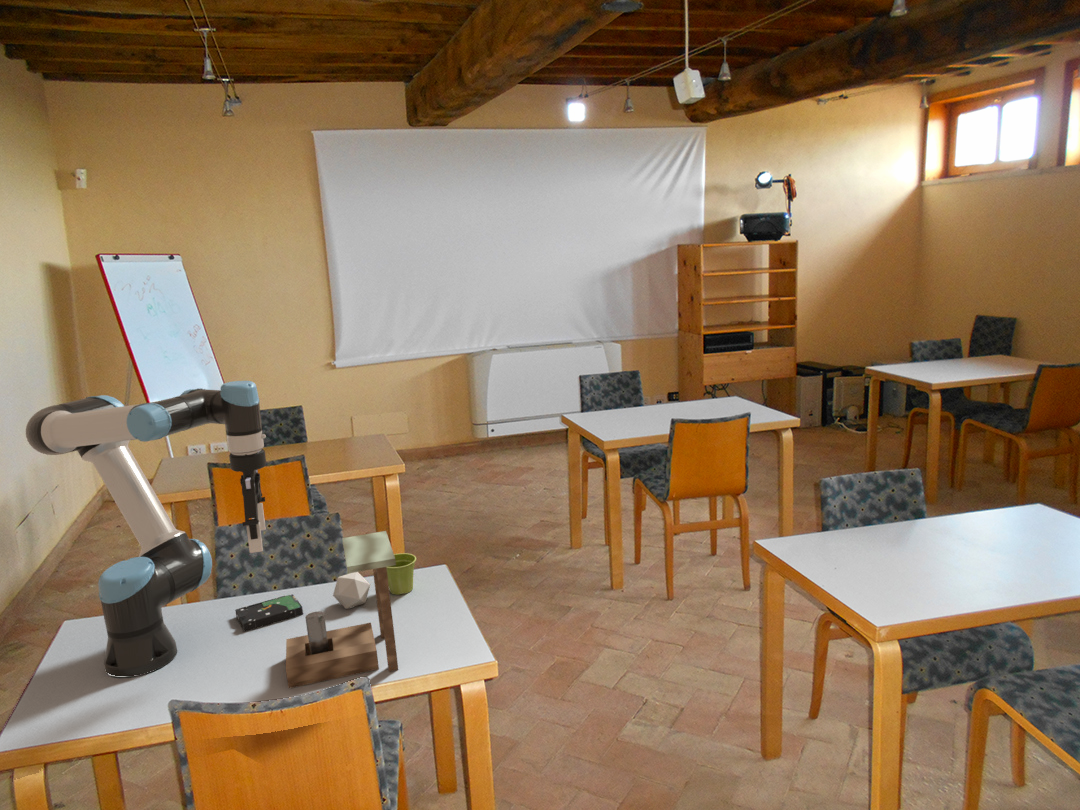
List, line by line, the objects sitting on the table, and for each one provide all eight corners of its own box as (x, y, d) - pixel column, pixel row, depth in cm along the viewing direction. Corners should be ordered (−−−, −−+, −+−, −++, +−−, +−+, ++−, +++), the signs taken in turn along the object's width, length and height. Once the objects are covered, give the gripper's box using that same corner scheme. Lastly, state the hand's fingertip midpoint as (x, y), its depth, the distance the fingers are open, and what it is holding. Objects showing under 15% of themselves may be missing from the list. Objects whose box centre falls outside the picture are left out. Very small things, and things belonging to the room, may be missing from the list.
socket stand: (288, 693, 164) (271, 580, 159) (289, 653, 181) (274, 549, 176) (407, 667, 171) (395, 558, 166) (397, 631, 188) (385, 530, 183)
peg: (311, 667, 172) (305, 621, 170) (311, 658, 176) (305, 613, 174) (330, 663, 173) (324, 617, 171) (329, 655, 177) (323, 610, 175)
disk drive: (244, 634, 193) (304, 615, 201) (242, 624, 193) (302, 605, 200) (236, 619, 202) (293, 601, 209) (234, 609, 201) (292, 592, 209)
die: (364, 595, 211) (337, 570, 208) (382, 586, 205) (355, 560, 203) (347, 619, 204) (320, 593, 202) (366, 610, 199) (338, 584, 197)
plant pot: (426, 585, 213) (422, 555, 211) (406, 600, 205) (402, 569, 203) (397, 581, 217) (394, 551, 215) (377, 595, 209) (373, 565, 207)
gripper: (261, 463, 163) (273, 558, 168) (266, 435, 187) (276, 520, 191) (223, 467, 161) (236, 563, 166) (233, 439, 185) (244, 524, 189)
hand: (258, 540), depth 178 cm, fingers open, 13 cm apart
